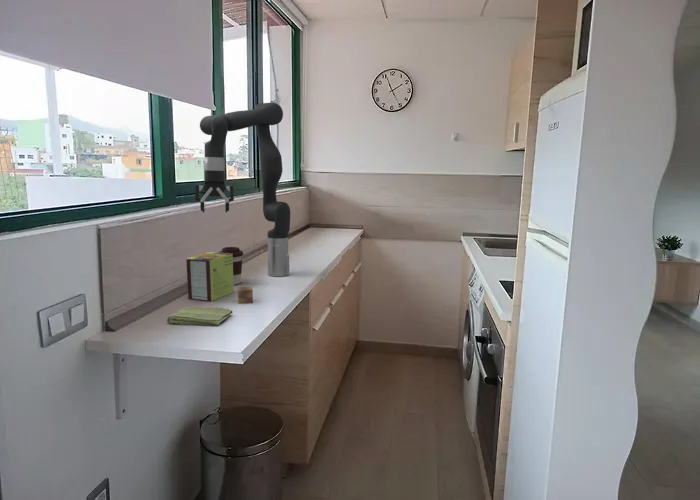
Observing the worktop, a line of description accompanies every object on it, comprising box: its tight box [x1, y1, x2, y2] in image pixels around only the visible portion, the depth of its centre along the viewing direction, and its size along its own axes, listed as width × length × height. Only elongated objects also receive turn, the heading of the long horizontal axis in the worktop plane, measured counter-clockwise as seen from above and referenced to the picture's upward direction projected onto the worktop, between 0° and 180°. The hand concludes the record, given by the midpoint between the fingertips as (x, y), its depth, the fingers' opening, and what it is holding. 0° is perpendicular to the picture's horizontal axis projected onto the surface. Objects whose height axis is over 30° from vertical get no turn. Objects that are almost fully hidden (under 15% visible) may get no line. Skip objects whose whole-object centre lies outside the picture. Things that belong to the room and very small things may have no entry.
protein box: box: [185, 251, 235, 302], centre depth 189 cm, size 10×15×16 cm
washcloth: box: [166, 305, 233, 327], centre depth 161 cm, size 13×18×3 cm
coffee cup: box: [218, 246, 244, 285], centre depth 208 cm, size 10×10×15 cm
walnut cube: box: [237, 286, 254, 305], centre depth 182 cm, size 5×5×5 cm
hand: (214, 212), depth 192 cm, fingers open, 8 cm apart
